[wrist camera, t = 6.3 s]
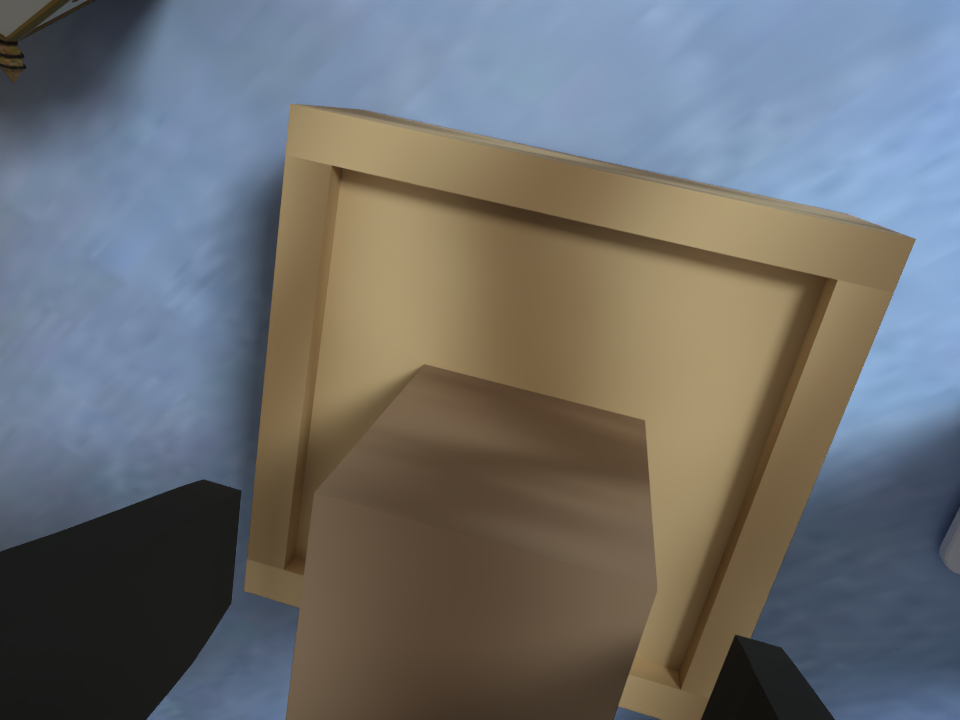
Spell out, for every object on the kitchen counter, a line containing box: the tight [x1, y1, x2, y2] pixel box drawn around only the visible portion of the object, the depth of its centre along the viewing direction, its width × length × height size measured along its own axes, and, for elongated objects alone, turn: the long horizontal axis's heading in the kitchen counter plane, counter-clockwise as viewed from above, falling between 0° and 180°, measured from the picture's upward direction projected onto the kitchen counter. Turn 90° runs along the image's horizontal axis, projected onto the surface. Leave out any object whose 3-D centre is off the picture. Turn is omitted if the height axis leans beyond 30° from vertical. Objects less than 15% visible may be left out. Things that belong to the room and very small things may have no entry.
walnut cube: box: [286, 364, 658, 720], centre depth 13 cm, size 5×5×6 cm
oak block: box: [244, 104, 916, 720], centre depth 17 cm, size 12×12×4 cm
